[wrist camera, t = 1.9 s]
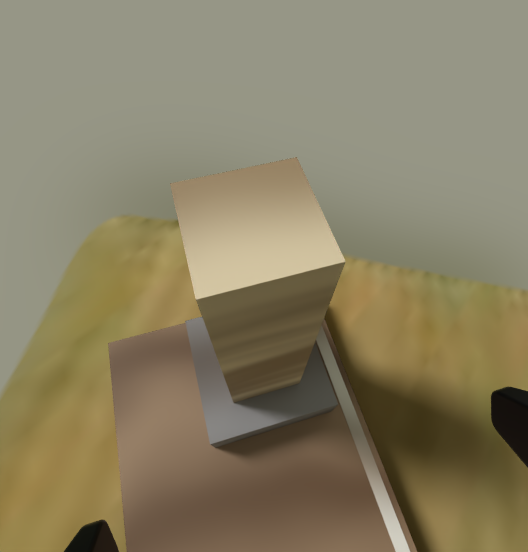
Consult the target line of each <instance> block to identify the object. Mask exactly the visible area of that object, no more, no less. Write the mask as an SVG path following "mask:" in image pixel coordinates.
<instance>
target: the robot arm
mask: <svg viewBox="0 0 528 552" xmlns="http://www.w3.org/2000/svg"><path fill="white" fill-rule="evenodd" d="M491 419H492V423H493V426H494V427H495V429H496V431H497V432H498V433H499V434H500V435H501V437H502V438H503V439H504V440H505V441H506V442H507V444H508V445H509V446H510V447H511V448H512V450H513V451H514V452H515V453H516V454H517V455H518V457H519V458H520V459H521V460H522V461H523V463H524V464H525V465H526V466H527V467H528V391H524V390H521V389H517V388H513V387H505V388H502V389H499V390H496V391H494V392H493V393H492V395H491ZM64 552H119V551H118V547H117V545H116V542H115V540H114V538H113V535H112V533H111V531H110V528H109V526H108V524H107V522H106V521H105V520H99V521H96V522H92V523H89V524H86V525H84V526H83V527H82V528H81V529H80V530H79V532H78V533H77V534H76V536H75V537H74V538H73V540H72V541H71V542H70V544H69V545H68V547H67V548H66V549H65V551H64Z"/></svg>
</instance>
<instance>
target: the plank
mask: <svg viewBox="0 0 528 552" xmlns="http://www.w3.org/2000/svg"><path fill="white" fill-rule="evenodd" d="M315 343H316V346H317V349H318V351H319V354H320V357H321V359H322V362H323V365H324V368H325V370H326V373H327V376H328V378H329V381H330V384H331V386H332V389H333V392H334V394H335V397H336V400H337V402H338V405H337V406H336V407H335V408H334V409H333V410H332V411H331V412H328V413H325V414H322V415H319V416H315V417H312V418H309V419H306V420H303V421H300V422H296V423H293V424H290V425H287V426H284V427H280V428H277V429H274V430H271V431H268V432H265V433H261V434H258V435H255V436H252V437H249V438H245V439H242V440H239V441H236V442H233V443H229V444H226V445H223V446H220V447H217V448H214V447H213V446H212V445H210V441H209V437H208V432H207V427H206V422H205V417H204V412H203V407H202V402H201V397H200V392H199V387H198V382H197V377H196V372H195V367H194V362H193V357H192V352H191V347H190V342H189V337H188V332H187V327H186V323H183V324H180V325H176V326H172V327H168V328H164V329H160V330H157V331H153V332H149V333H145V334H141V335H138V336H134V337H130V338H126V339H122V340H119V341H115V342H111V343H108V346H109V357H110V368H111V379H112V391H113V402H114V413H115V424H116V435H117V446H118V458H119V469H120V480H121V491H122V502H123V513H124V525H125V536H126V547H127V552H417V549H416V547H415V544H414V542H413V539H412V537H411V534H410V532H409V529H408V527H407V524H406V522H405V519H404V517H403V514H402V512H401V509H400V507H399V504H398V502H397V499H396V497H395V494H394V492H393V489H392V487H391V484H390V482H389V479H388V477H387V474H386V472H385V469H384V467H383V464H382V462H381V459H380V457H379V454H378V452H377V449H376V447H375V444H374V442H373V439H372V437H371V434H370V432H369V429H368V427H367V424H366V422H365V419H364V417H363V414H362V412H361V409H360V407H359V404H358V402H357V399H356V397H355V394H354V392H353V389H352V387H351V384H350V382H349V379H348V376H347V374H346V371H345V369H344V366H343V364H342V361H341V359H340V356H339V354H338V351H337V349H336V346H335V344H334V341H333V339H332V336H331V334H330V331H329V329H328V326H327V324H326V321H325V319H324V320H323V322H322V325H321V328H320V330H319V333H318V335H317V338H316V341H315Z"/></svg>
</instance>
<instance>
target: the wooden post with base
mask: <svg viewBox="0 0 528 552" xmlns="http://www.w3.org/2000/svg"><path fill="white" fill-rule="evenodd" d="M170 185H171V189H172V194H173V199H174V203H175V208H176V212H177V217H178V221H179V226H180V230H181V235H182V239H183V244H184V248H185V253H186V257H187V262H188V266H189V271H190V275H191V280H192V284H193V288H194V293H195V297H196V301H197V304H198V307H199V309H200V312H201V315H202V317H199V318H195V319H191V320H188V321H185V322H186V327H187V332H188V337H189V342H190V347H191V352H192V357H193V362H194V367H195V372H196V377H197V382H198V387H199V392H200V397H201V402H202V407H203V412H204V417H205V422H206V427H207V432H208V437H209V441H210V445H212V446H213V447H214V448H217V447H220V446H223V445H226V444H229V443H233V442H236V441H239V440H242V439H245V438H249V437H252V436H255V435H258V434H261V433H265V432H268V431H271V430H274V429H277V428H280V427H284V426H287V425H290V424H293V423H296V422H300V421H303V420H306V419H309V418H312V417H315V416H319V415H322V414H325V413H328V412H331V411H332V410H333V409H334V408H335V407H336V406H337V405H338V402H337V400H336V397H335V394H334V392H333V389H332V386H331V384H330V381H329V378H328V376H327V373H326V370H325V368H324V365H323V362H322V359H321V357H320V354H319V351H318V349H317V346H316V343H315V341H316V338H317V335H318V333H319V330H320V328H321V325H322V322H323V320H324V317H325V314H326V312H327V309H328V306H329V304H330V301H331V298H332V296H333V293H334V290H335V288H336V285H337V283H338V280H339V277H340V275H341V272H342V269H343V267H344V264H345V260H344V257H343V255H342V253H341V251H340V249H339V247H338V245H337V243H336V240H335V238H334V236H333V234H332V232H331V230H330V227H329V225H328V223H327V221H326V219H325V217H324V215H323V213H322V210H321V208H320V206H319V204H318V202H317V200H316V197H315V195H314V193H313V191H312V189H311V187H310V185H309V183H308V180H307V178H306V176H305V174H304V172H303V169H302V168H301V165H300V163H299V161H298V159H297V157H295V158H290V159H286V160H281V161H276V162H272V163H266V164H261V165H257V166H252V167H247V168H243V169H237V170H233V171H228V172H223V173H218V174H213V175H209V176H204V177H200V178H194V179H190V180H185V181H180V182H175V183H170Z"/></svg>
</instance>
